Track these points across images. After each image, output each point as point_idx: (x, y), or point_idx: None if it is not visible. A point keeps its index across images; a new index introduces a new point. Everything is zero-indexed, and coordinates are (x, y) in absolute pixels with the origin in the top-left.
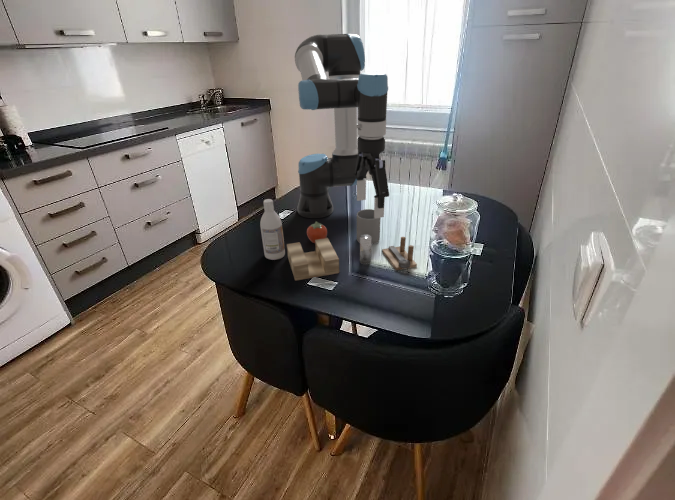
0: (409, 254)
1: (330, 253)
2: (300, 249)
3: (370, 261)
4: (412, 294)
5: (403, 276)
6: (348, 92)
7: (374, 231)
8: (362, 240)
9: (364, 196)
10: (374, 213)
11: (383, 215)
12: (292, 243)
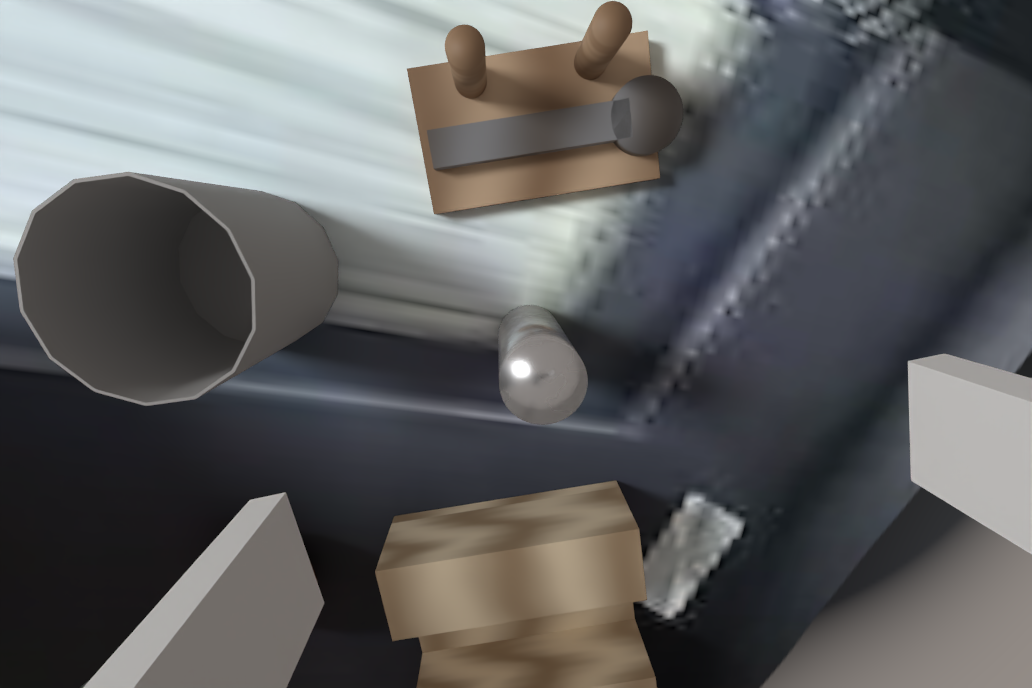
0: (612, 58)
1: (570, 568)
2: None
3: (545, 310)
4: (882, 152)
5: (719, 153)
6: None
7: (295, 248)
8: (573, 409)
9: (267, 545)
10: (979, 512)
11: (965, 364)
12: None
